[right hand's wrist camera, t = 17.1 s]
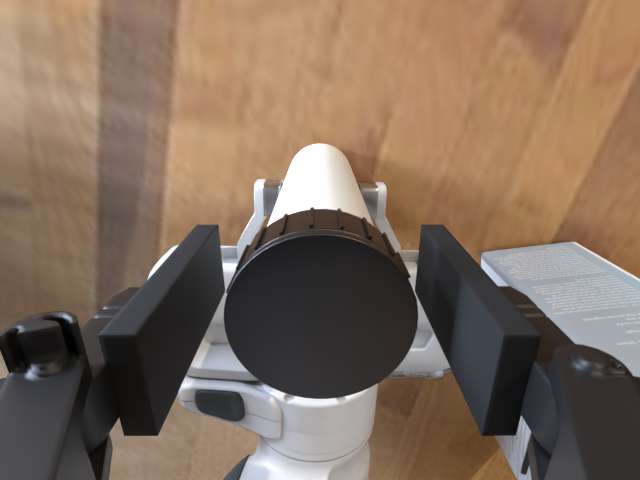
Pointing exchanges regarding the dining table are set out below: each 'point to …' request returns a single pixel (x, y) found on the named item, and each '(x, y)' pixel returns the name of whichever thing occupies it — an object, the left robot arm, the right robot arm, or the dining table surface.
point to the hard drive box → (571, 308)
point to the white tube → (320, 184)
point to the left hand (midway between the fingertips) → (320, 182)
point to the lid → (320, 305)
